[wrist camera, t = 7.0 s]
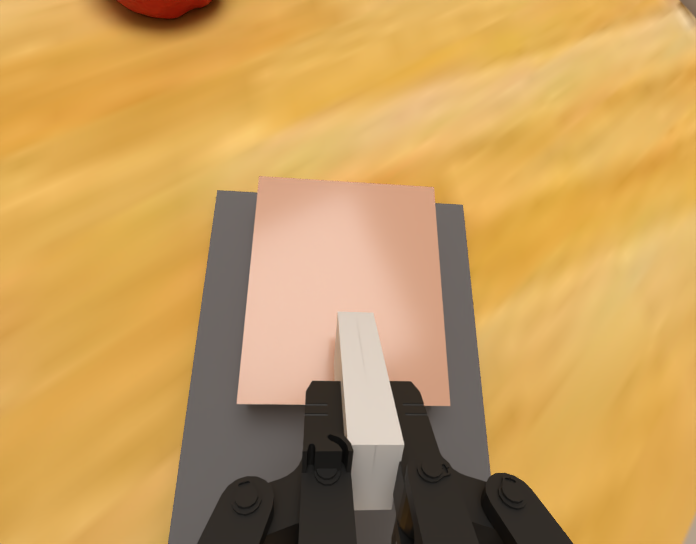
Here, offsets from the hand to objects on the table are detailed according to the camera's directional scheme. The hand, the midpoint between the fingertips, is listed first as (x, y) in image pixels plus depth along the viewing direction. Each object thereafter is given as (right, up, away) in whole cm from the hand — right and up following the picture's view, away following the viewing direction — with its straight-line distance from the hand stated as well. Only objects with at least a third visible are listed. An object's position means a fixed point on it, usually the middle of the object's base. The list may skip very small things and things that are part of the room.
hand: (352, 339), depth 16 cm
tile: (0, -4, +3) cm, 5 cm away
